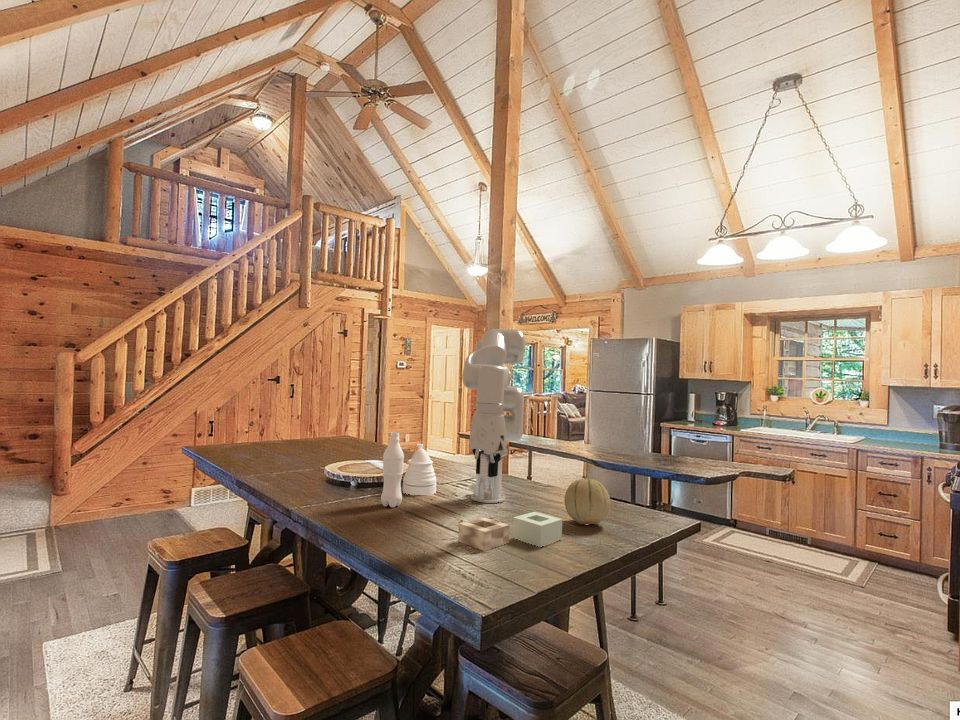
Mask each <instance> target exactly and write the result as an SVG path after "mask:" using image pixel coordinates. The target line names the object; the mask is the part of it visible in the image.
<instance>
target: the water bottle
mask: <svg viewBox="0 0 960 720" xmlns="http://www.w3.org/2000/svg"><path fill="white" fill-rule="evenodd" d="M389 436H390V437H389V443H388V445H387V447H386V448H385V450H384V452H383V456H382V472H381V473H382V477H383V488H382V493H381V495H380V500H381V504H382V506H383V507H388V506H389V507H390V508H396V507H399V506H401V503H402V500H403V494H402V487H401V485H402V482H401V481H402V479H403V478H402V477H403V475H404V463H405V462H404V461H405V453H404V451H403V449H402V447H401V445H400V432H396V431H391V432H390V435H389Z"/></svg>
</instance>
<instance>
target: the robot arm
mask: <svg viewBox="0 0 960 720" xmlns="http://www.w3.org/2000/svg"><path fill="white" fill-rule="evenodd" d="M525 351H526V338H525V335H524V334H523V332H522V331H521V330H518V329H507V328H492V329H488V330H487V331H485V333H483V335H482V338H481V340H478V341H477V342H476V344H475V351H473V352H471V353H469V355H467V357H466V358H465V361H464V365H463V369H462V378H461V379H462V383H463V386H464V387H465V388H466V389H469V390H476V403H475V404H474V409H476V410H475V412H474V413H473V415H472V420H471V426H470V431H469V432H470V433H469V444H468V448H469V449H470V450H471V451H472V453H473V455H474V459H475V461H476V462H475V463H476V464H475V474H476V476H475V483H472V484H471V486H469V487H468V489H469V490H470V491H472V492H473V493H472V494H470V499H471V500H472V501H475V502H479V503H485V504H497V503H498V502H499V503H502V502H504V501H505V500H506V497H505V495H503V494H502V477H503V476H502V475H503V474H502V473H503V459H504V458H503V457H506V456H507V455H508V454H509V451H508V448H507V446H506V441H507V442H516V441H520V440H521V439H522V436H523V433H524V416H525V414H524V412H525V395H524V392H523V389H522V388H520V387H519V386H515V385H511V382H512V372H511V371H510V369H509V368H508V367H507V366H506V365H505V364H507V365H519V364H521V363H522V362H523V360H524V356H525ZM504 412H508V413H510V414H511V415H510V414H504ZM481 453H490V460H491V462H489V470H488V476H489V477H494V481H493V498H491V499H482V498H479V497H478V495H479V474H480V454H481Z"/></svg>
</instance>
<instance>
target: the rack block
mask: <svg viewBox="0 0 960 720" xmlns="http://www.w3.org/2000/svg"><path fill="white" fill-rule="evenodd" d="M512 521H513V522H512V539H513V538H515V539H514V540H516V539H518V540H517V541H519V540H521V541H520V542H522V541H524V542H523V543H525V542H526V543H525V544H528V543H529V544H528V545H531V544H532V546H534V545H536V546H535V547H537V546H539V547H538V548H540V547H542V546H544V547H546V546H545V545H547V544H549V543H552V542H555V541H557V540H559V539H562V537H563V518H559V517H555V516H553V515H549V514H544V513H542V512H537V511H533V512H528V513H525V514H521V515H517V516H514V517H512ZM562 540H563V539H562ZM555 543H556V542H555ZM547 546H548V545H547ZM542 548H543V547H542Z"/></svg>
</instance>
